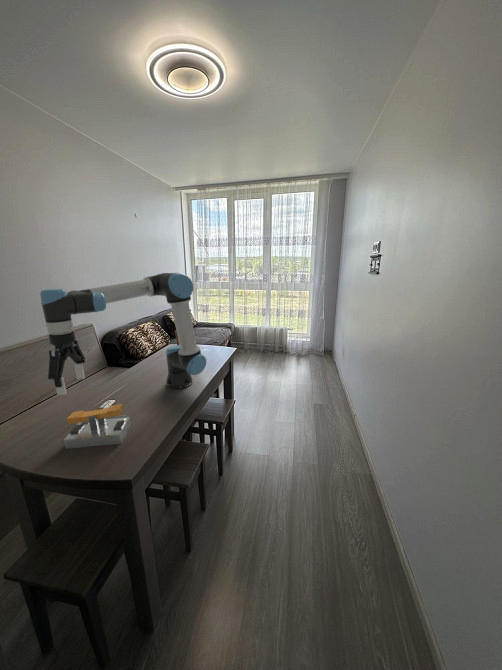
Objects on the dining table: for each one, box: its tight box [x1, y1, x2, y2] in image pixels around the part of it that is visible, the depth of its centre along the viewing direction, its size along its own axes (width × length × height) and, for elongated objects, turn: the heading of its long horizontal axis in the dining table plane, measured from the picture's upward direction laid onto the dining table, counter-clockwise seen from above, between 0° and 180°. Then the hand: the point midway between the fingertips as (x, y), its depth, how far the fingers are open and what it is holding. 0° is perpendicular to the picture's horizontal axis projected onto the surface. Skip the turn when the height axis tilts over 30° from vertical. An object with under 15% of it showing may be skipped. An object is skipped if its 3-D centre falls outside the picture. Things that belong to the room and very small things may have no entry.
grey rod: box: [97, 414, 129, 420], centre depth 113 cm, size 15×2×2 cm, turn 98°
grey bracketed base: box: [63, 406, 132, 450], centre depth 102 cm, size 20×12×11 cm, turn 98°
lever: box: [66, 403, 125, 426], centre depth 101 cm, size 19×5×3 cm, turn 99°
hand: (72, 386), depth 97 cm, fingers open, 13 cm apart
